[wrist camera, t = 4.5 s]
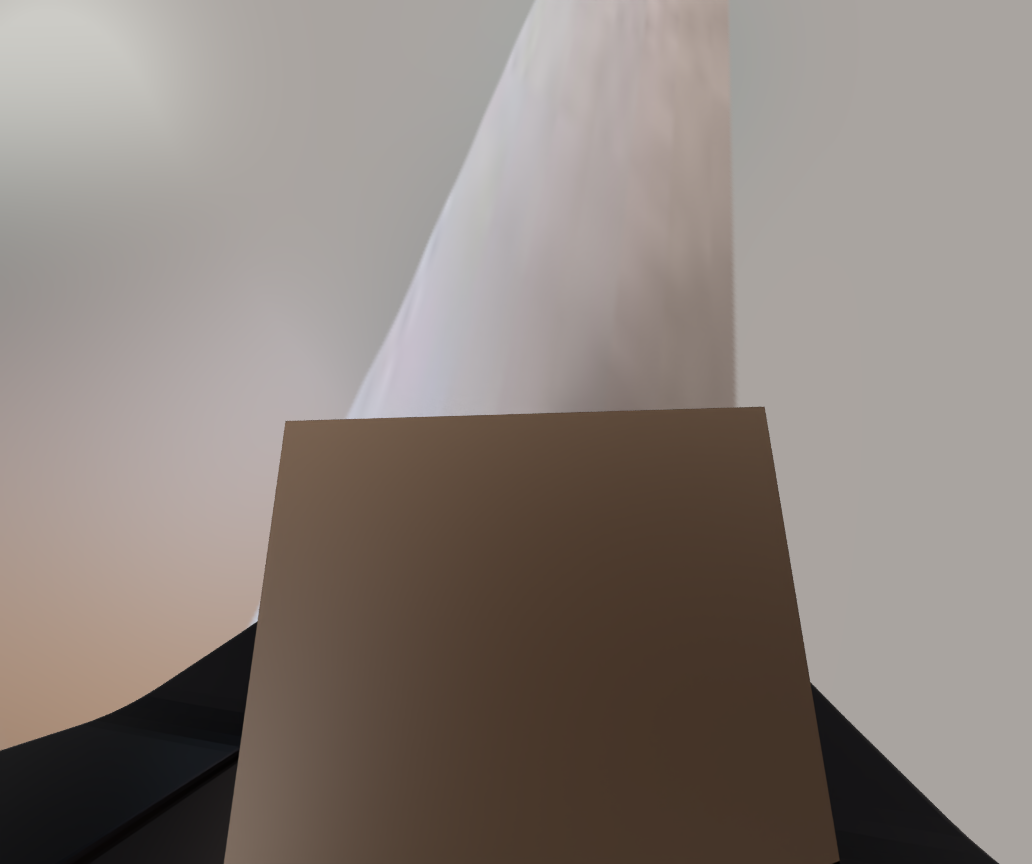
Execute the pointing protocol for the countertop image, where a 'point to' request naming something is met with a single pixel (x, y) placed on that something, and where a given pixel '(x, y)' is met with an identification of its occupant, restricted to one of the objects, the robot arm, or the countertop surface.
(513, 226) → the countertop surface
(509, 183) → the countertop surface
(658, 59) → the countertop surface
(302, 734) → the walnut post
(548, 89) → the countertop surface
